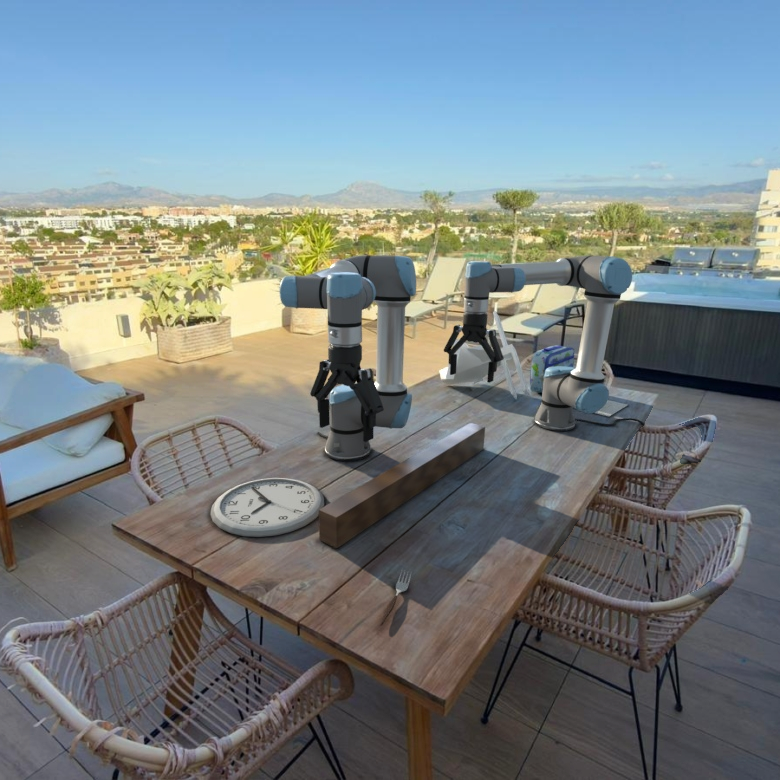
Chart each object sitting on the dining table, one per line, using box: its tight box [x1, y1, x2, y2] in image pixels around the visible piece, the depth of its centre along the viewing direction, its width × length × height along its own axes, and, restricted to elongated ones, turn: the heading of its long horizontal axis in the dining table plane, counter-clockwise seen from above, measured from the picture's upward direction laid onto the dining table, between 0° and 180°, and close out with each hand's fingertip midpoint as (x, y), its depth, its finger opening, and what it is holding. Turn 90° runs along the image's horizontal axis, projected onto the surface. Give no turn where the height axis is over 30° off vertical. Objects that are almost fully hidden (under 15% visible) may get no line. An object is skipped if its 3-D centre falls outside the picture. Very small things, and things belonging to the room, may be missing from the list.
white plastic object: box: [438, 310, 531, 400], centre depth 245 cm, size 37×45×31 cm
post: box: [318, 422, 486, 549], centre depth 153 cm, size 75×6×8 cm, turn 143°
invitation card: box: [594, 399, 629, 418], centre depth 226 cm, size 21×1×15 cm
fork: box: [379, 570, 413, 627], centre depth 106 cm, size 3×16×2 cm, turn 160°
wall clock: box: [210, 477, 325, 538], centre depth 142 cm, size 30×2×30 cm
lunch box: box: [529, 345, 575, 394], centre depth 245 cm, size 26×11×21 cm, turn 134°
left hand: (345, 432), depth 122 cm, fingers open, 13 cm apart
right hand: (471, 377), depth 169 cm, fingers open, 13 cm apart
